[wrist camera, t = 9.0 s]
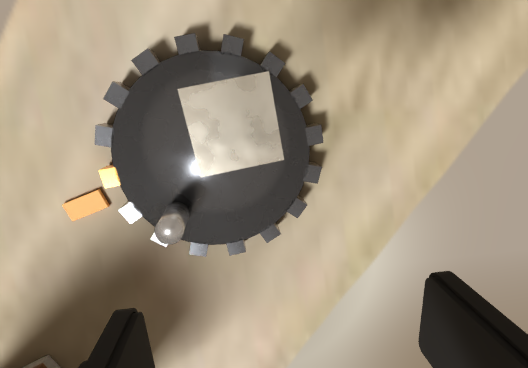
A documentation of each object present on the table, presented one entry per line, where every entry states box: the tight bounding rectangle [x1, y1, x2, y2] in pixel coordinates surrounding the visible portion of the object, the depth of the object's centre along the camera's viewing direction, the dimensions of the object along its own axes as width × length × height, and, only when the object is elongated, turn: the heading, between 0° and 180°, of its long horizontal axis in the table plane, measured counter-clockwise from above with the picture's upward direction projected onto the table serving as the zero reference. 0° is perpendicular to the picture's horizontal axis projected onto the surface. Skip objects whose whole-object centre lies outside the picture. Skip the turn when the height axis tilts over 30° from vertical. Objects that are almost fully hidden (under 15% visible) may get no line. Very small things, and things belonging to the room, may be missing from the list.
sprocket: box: [95, 33, 323, 257], centre depth 28 cm, size 22×22×6 cm
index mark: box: [62, 189, 110, 221], centre depth 31 cm, size 4×2×1 cm, turn 111°
